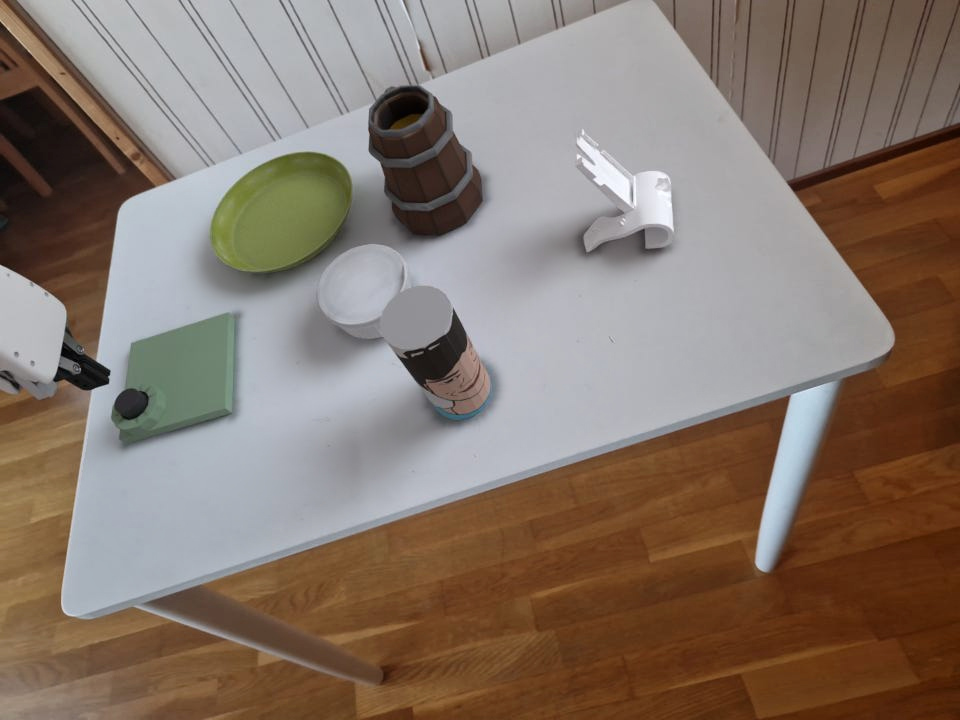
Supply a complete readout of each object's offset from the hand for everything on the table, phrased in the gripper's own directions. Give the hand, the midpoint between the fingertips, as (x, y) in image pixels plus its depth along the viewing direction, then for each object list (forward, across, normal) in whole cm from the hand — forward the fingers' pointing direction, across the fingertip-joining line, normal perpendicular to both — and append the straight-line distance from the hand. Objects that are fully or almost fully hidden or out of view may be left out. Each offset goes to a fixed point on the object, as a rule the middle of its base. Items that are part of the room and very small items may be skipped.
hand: (98, 381), depth 74 cm
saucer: (+9, -24, +19) cm, 32 cm away
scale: (+9, -4, +4) cm, 10 cm away
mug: (+9, -21, +40) cm, 46 cm away
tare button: (+6, 0, 0) cm, 6 cm away
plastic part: (+9, -6, +61) cm, 62 cm away
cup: (+9, +9, +38) cm, 41 cm away
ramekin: (+9, -5, +30) cm, 32 cm away
